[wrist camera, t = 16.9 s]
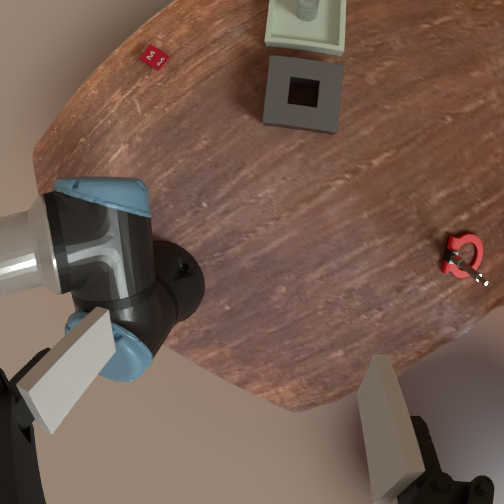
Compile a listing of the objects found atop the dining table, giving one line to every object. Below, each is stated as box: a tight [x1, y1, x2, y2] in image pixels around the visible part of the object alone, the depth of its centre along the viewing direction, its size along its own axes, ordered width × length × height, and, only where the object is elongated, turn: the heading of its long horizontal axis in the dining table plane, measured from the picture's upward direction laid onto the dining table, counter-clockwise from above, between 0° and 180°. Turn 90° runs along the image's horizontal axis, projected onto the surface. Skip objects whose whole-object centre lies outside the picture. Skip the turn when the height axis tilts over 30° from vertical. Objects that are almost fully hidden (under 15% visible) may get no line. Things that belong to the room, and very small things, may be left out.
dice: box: [140, 45, 170, 70], centre depth 38 cm, size 3×3×3 cm
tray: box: [265, 0, 346, 56], centre depth 33 cm, size 12×14×2 cm
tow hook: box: [441, 233, 488, 286], centre depth 38 cm, size 8×13×9 cm
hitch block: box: [263, 55, 343, 135], centre depth 37 cm, size 10×10×5 cm
